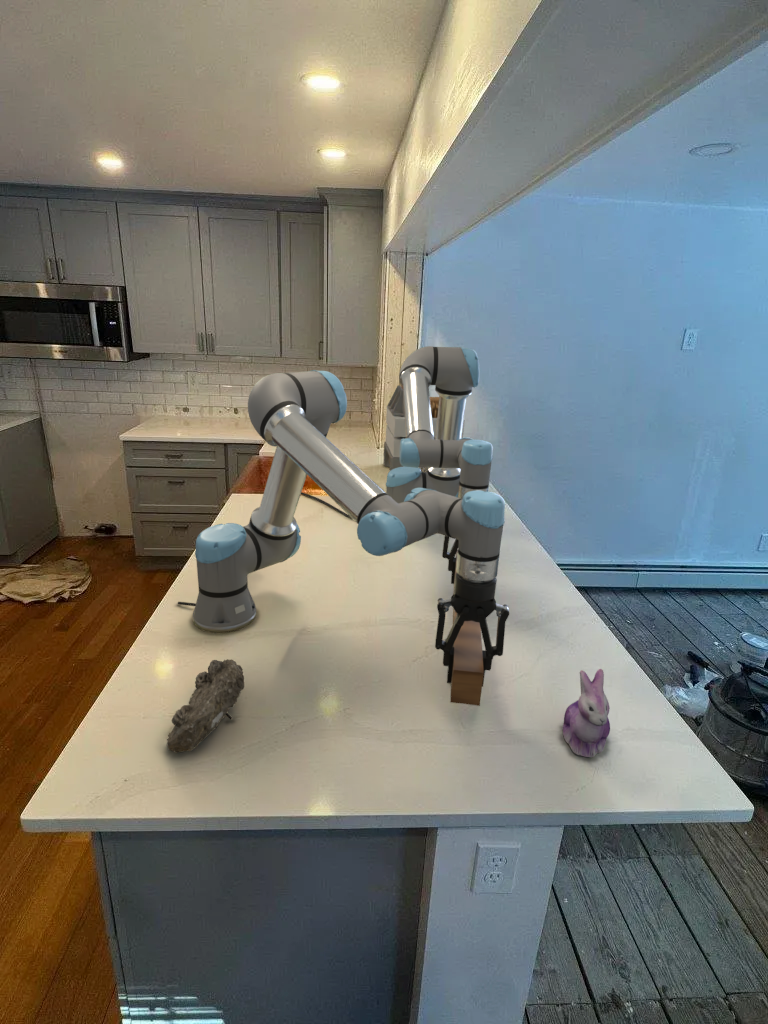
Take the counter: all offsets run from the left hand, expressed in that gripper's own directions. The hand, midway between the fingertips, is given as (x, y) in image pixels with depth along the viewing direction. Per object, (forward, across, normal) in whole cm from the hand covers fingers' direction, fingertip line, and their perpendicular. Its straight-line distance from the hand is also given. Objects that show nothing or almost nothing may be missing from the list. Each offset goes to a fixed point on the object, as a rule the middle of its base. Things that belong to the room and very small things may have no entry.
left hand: (465, 680), depth 112 cm
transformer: (+6, -20, +170) cm, 171 cm away
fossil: (+6, -47, -12) cm, 49 cm away
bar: (+1, 0, +22) cm, 22 cm away
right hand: (0, 0, +43) cm, 43 cm away
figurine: (+6, +23, -6) cm, 25 cm away
